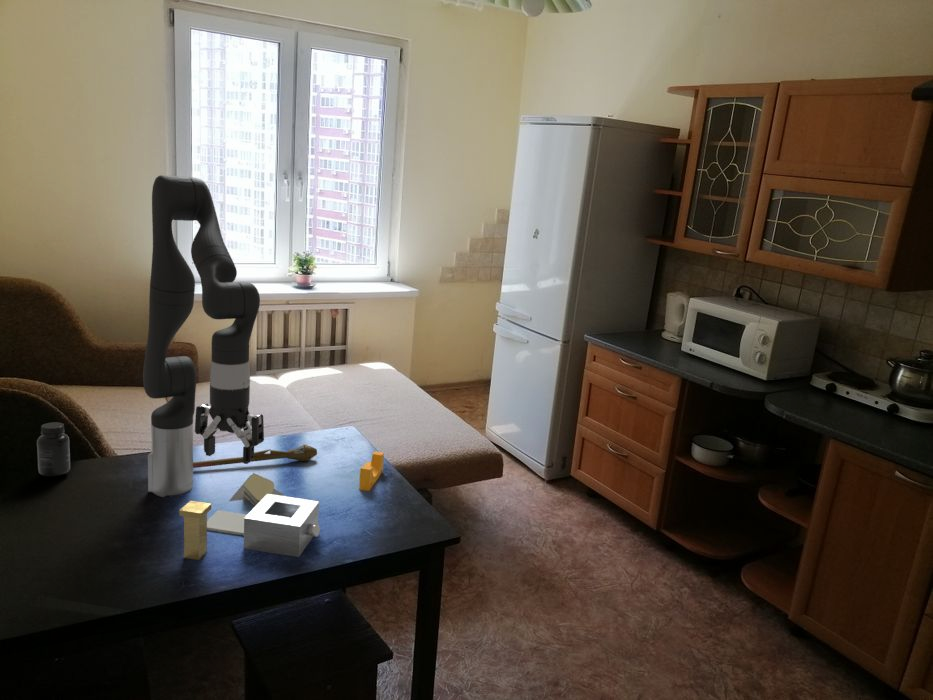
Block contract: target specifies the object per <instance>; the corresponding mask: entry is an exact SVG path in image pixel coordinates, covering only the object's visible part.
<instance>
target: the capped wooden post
mask: <svg viewBox="0 0 933 700" xmlns="http://www.w3.org/2000/svg"><path fill="white" fill-rule="evenodd" d="M211 510H212V503H210V502H208V503H207V502H203V501H197V500H195V501H194V500H189V502H187V503H186V504H185V505H184V506H182V508H180V509H179V517H183V558H185V559H189V560H196V561H199V560H200V561H201V559H202V558H203V557H204V556H205V555H206V554H207V551H208V550H207V549H208V542H207V541H208V530H207V520H208V513H209V512H210V511H211Z"/></svg>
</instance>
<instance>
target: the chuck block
mask: <svg viewBox="0 0 933 700" xmlns="http://www.w3.org/2000/svg"><path fill="white" fill-rule="evenodd" d="M319 512H320V501H318V500H311V499H306V498H299V497H292V496H286V495H284V496H279V495H272V494H267V495H266V496H265V497H264V498H263V499H262V500H261V501H260V502H259V503H258V504H257V505H255V506H254V507H253V508H252V509H251V510H250V511H249V512H248V513H247V514H246V515H247V516H246V517H245V518H244V536H243V550H249V551H250V550H251V551H258V552H263V553H271V554H277V555H283V556H290V557H295V558H296V557H297V558H299V557H300V556H301V555H302V553H303V552H304V550H305V549H306V548H307V546H308V545H309V544H310V542H311V541H312V539H313V538H314V537H317V538H318V537H319V535H320V532H321V526H320V525H319Z"/></svg>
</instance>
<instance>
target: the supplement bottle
mask: <svg viewBox="0 0 933 700" xmlns="http://www.w3.org/2000/svg"><path fill="white" fill-rule="evenodd" d="M64 424H65V423H62V422H57V421H55V422H54V421H53V422H48V423H44V424H42V425H41V426H40V430H41V431H40V434H41V435H40V436H39V437H38V438H37V439H36V447H37V448H36V449H37V451H36V452H37V469H38V473H39V474H40V475H42V476H45V477H57V476H62V475H65V474H67V473H68V472H69V471H70V470H71V453H70V437H69V436H68V434H66V433H65V425H64Z"/></svg>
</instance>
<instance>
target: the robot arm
mask: <svg viewBox="0 0 933 700" xmlns="http://www.w3.org/2000/svg"><path fill="white" fill-rule="evenodd" d="M151 191H152V192H151V214H152V215H151V217H152V219H151V221H152V255H151V256H152V257H151V267H150V268H151V269H150V270H151V271H150V282H149V301H148V302H149V303H148V304H149V305H148V308H149V310H148V313H149V314H148V333H147V341H146V349H145V356H144V359H143V360H144V361H143V367H142V368H143V370H142V382H143V383H142V385H143V388H144V391H145V394H146V396H147V397H149V398H150V399H165V398H170V399H169V401H167V402H166V403H164V404H163V405H160V406H158V407H157V408H155V409H154V410H153V411H152V412H151V414H150V416H151V417H150V421H151V424H150V428H151V430H150V436H151V439H150V440H151V452H150V453H149V454H148V455H147V484H148V486H147V488H148V489H147V490H148V492H149V493H153V494H154V495H155V496H158V497H161V498H165V497H166V496H176V495H181V494H184V493H188V492H190V491H191V490H192V489H193V487H194V468H193V462H194V433H195V434H196V435H201V436H202V438H203V450H204V451H203V452H204V453H205V456H208V457H211V456H213V455H215V453H216V435H215V434H217V432H218V431H220V432H228V433H230V434H235V436H236V437H237V438H238V439H240V441H241V443H242V444H243V446H242V447H243V448H242V457H243V464H245V465H248V464H250V463H252V462H251V461H252V460H253V458H254V452H255V447H257V446H258V445H260V444H262V443H263V442H264V441H265V433H264V432H265V430H264V415H263V414H262V413H258V414H251V413H250V412H249V405H250V396H251V395H250V391H251V389H250V387H251V385H250V384H251V369H250V340H251V336H252V333H253V329H254V326H255V322H256V319H257V316H258V313H259V309H260V304H261V299H260V298H261V297H260V293H259V291H258V290H259V289H257V287H256V286H255V285H254V284H253V283H251V282H249V281H237V282H236V281H235V280H236V279H237V275H238V273H237V272H238V271H237V266H236V265H235V262H234V261H233V259H232V256H231V254H230V252H229V251H228V248H227V246H226V244H225V242H224V239H223V236H222V232H221V228H220V224H219V219H218V215H217V211H216V208H215V204H214V201H213V197H212V194H211V192H210V188H209V186H208V185H207V183H206V182H205V181H204V180H203V179H201V178H198V177H193V176H180V175H170V174H169V175H167V174H163V175H162V174H161V175H157V177H155V179H154V182H153V185H152V190H151ZM173 221H184V222H185V221H188V222H191V221H192V222H193V221H197V222H198V224H199V228H198V230H197V232H196V234H195V236H194V238H193V240H192V243H191V247H190V253H191V259H192V262H193V264H194V266H195V269H196V271H197V273H198V275H199V279H200V284H201V304H202V309H203V311H204V313H205V314H206V315H207V316H208V317H209V318H211V319H212V320H234V321H233V323H232V324H231V325H230V326H228V327H225V328H222V329H218V330H216V331H215V332H213V334H212V336H211V360H210V361H211V362H210V369H209V403H206V402H205V403H202V404H201V405H198V406H196V392H197V391H196V389H197V370H196V367H195V364H194V361H193V359H191V357H189V356H185V355H181V356H170V357H168V356H167V353H168V350H169V346H170V345H171V342H172V340H173V338H174V337H175V336H176V334H177V333H178V331H179V330H180V329H181V328H182V327H183V325H184V324H185V322H186V321H187V320H188V318H189V317H190V315H191V313H192V311H193V307H194V305H195V304H194V303H195V291H196V290H195V289H196V279H195V276H194V274H193V272H192V271H193V270H192V268H191V267H190V266H189V264H188V262H187V261H186V259H185V258H184V256H183V254H182V253H181V251H180V249H179V248H178V246H177V244H176V241H175V237H174V235H173ZM195 408H196V409H195ZM194 415H195V420H194ZM209 416H210V418H211V420H212V422H211V423H210V424H209V425H208V423H209V422H208V420H209ZM194 421H195V423H194ZM248 422H249V423H248Z"/></svg>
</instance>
